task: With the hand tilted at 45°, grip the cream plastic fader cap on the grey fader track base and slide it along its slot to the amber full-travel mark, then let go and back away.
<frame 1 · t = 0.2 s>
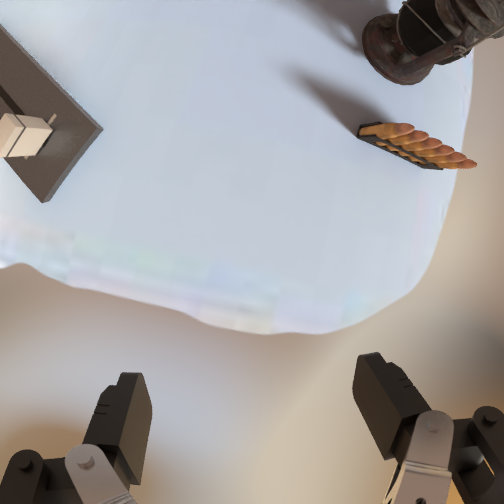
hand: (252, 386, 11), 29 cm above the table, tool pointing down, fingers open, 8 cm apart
lantern: (397, 49, 34), on the table
grey fader track base: (14, 100, 32), on the table
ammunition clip: (392, 146, 38), on the table
fader cap: (20, 136, 28), point 6 cm above the table, slide at 0.0 cm
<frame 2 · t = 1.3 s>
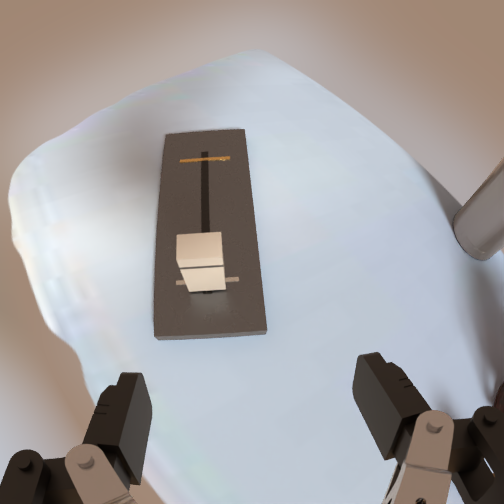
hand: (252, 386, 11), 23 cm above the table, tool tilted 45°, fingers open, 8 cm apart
grey fader track base: (206, 221, 42), on the table
fader cap: (203, 264, 32), point 6 cm above the table, slide at 0.0 cm
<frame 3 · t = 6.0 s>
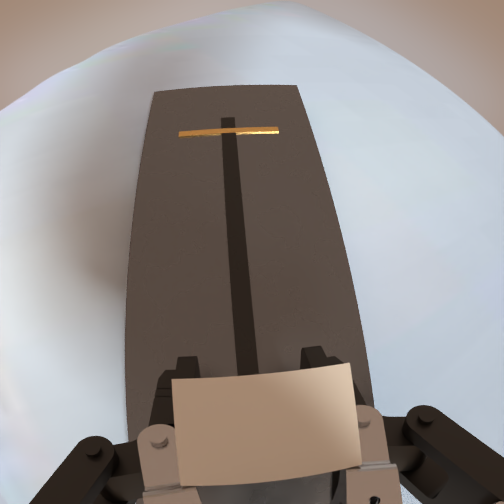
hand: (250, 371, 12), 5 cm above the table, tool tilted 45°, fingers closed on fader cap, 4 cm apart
grey fader track base: (237, 260, 19), on the table
fader cap: (257, 420, 10), point 6 cm above the table, slide at 0.0 cm, touching gripper
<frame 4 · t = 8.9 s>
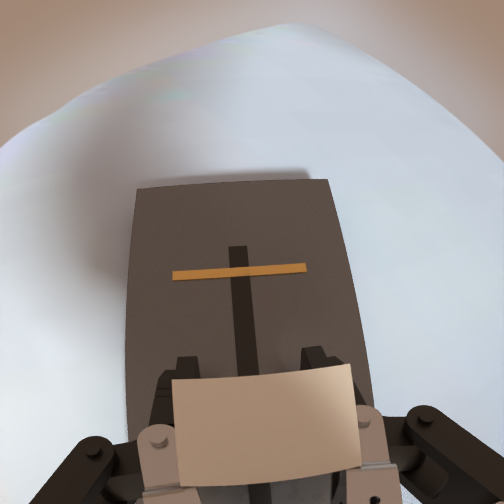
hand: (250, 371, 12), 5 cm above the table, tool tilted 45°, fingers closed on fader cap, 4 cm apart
grey fader track base: (253, 445, 15), on the table
fader cap: (257, 421, 10), point 6 cm above the table, slide at 10.7 cm, touching gripper
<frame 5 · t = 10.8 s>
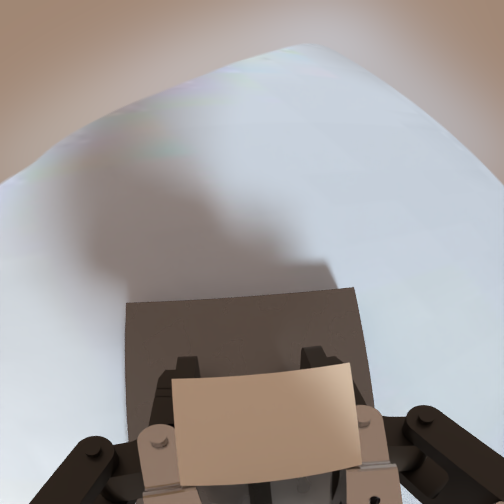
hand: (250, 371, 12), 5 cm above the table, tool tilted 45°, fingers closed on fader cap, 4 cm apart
fader cap: (257, 420, 10), point 6 cm above the table, slide at 18.0 cm, touching gripper
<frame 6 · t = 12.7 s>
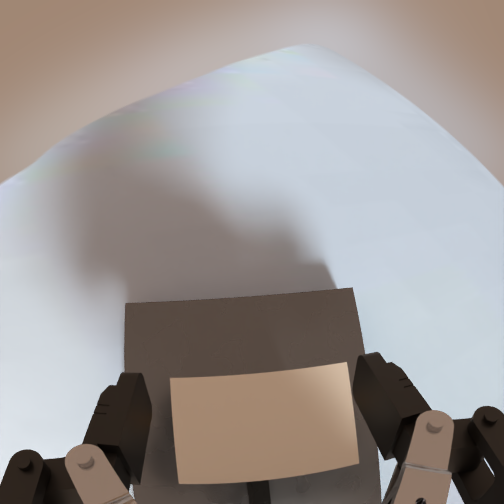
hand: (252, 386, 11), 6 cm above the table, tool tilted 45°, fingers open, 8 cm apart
fader cap: (256, 419, 10), point 6 cm above the table, slide at 18.0 cm
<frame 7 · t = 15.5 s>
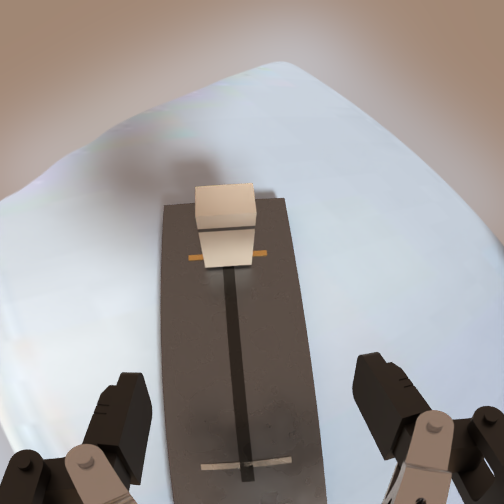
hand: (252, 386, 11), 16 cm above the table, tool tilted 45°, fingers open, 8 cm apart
grey fader track base: (235, 360, 27), on the table
fader cap: (226, 229, 25), point 6 cm above the table, slide at 18.0 cm
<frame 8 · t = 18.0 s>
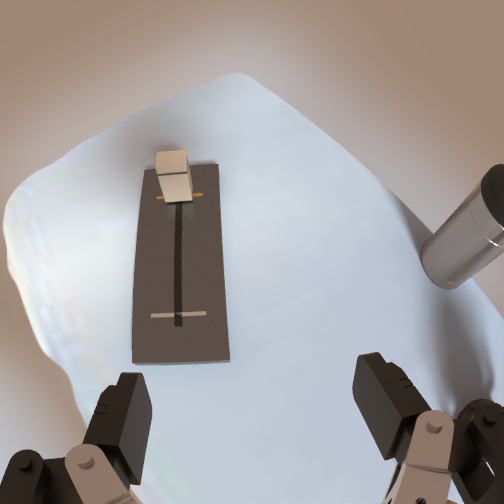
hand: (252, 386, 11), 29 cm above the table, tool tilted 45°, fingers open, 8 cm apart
lantern: (476, 432, 34), on the table
grey fader track base: (180, 256, 45), on the table
fader cap: (175, 177, 43), point 6 cm above the table, slide at 18.0 cm
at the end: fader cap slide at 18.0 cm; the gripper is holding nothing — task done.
